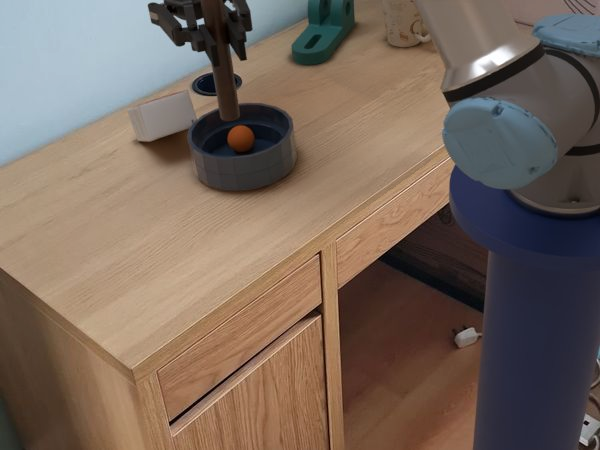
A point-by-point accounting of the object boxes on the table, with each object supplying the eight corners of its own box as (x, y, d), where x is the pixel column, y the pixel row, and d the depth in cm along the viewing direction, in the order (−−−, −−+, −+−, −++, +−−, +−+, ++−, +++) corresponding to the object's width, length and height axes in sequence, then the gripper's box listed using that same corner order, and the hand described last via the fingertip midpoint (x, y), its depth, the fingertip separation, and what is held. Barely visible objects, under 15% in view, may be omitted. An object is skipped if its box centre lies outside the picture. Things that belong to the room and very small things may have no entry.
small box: (173, 93, 126) (189, 88, 116) (184, 126, 127) (200, 125, 117) (125, 107, 123) (137, 104, 113) (137, 142, 124) (150, 141, 115)
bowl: (318, 161, 116) (315, 126, 112) (236, 207, 108) (230, 171, 105) (253, 126, 125) (249, 92, 121) (174, 166, 118) (167, 132, 114)
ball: (261, 149, 118) (258, 126, 116) (240, 160, 116) (236, 137, 114) (245, 140, 121) (241, 117, 118) (224, 151, 119) (220, 128, 116)
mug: (405, 26, 149) (405, -26, 143) (453, 46, 141) (455, -8, 135) (372, 40, 146) (370, -12, 139) (419, 62, 137) (420, 7, 131)
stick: (244, 115, 103) (221, -37, 90) (228, 123, 101) (203, -30, 89) (232, 109, 104) (208, -41, 92) (216, 116, 103) (190, -35, 91)
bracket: (322, 21, 154) (319, -18, 149) (354, 24, 152) (353, -16, 147) (286, 63, 142) (282, 21, 137) (321, 66, 139) (318, 24, 134)
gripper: (243, 0, 113) (295, 67, 95) (136, 23, 110) (169, 96, 92) (236, -52, 109) (289, 8, 91) (124, -30, 106) (156, 37, 88)
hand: (228, 52), depth 92 cm, fingers closed on stick, 3 cm apart
